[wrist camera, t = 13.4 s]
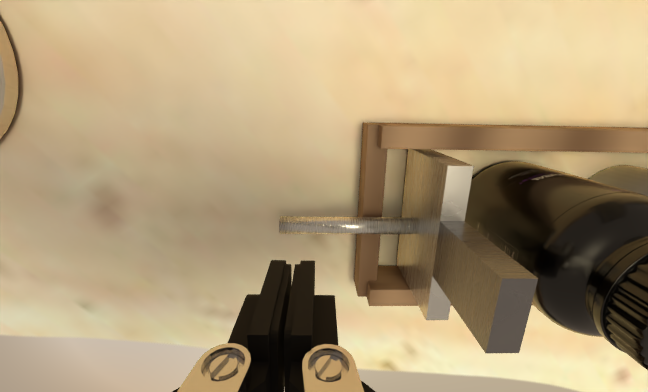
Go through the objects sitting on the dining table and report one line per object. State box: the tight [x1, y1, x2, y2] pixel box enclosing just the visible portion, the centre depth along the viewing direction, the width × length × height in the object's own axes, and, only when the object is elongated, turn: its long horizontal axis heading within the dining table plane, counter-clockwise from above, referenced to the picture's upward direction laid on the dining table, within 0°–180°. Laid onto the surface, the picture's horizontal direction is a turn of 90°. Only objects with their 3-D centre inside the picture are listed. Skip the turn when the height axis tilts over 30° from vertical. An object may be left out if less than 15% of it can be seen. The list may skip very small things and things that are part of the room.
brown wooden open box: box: [354, 123, 648, 306], centre depth 18 cm, size 23×11×6 cm, turn 89°
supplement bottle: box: [465, 161, 648, 370], centre depth 15 cm, size 7×7×12 cm
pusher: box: [279, 149, 538, 353], centre depth 15 cm, size 9×8×11 cm
